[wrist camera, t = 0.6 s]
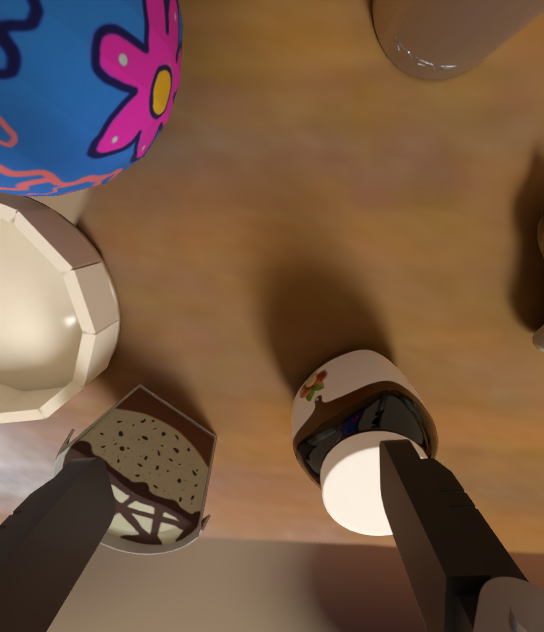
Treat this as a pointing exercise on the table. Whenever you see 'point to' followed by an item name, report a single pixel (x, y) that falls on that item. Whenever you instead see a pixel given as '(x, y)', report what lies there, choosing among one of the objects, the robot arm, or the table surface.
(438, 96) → the table surface
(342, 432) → the spread jar
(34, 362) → the bowl
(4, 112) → the ceramic pot
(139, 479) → the food container
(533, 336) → the ceramic sculpture
